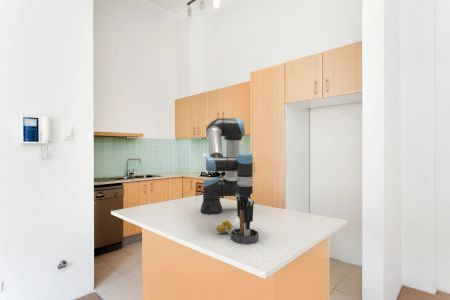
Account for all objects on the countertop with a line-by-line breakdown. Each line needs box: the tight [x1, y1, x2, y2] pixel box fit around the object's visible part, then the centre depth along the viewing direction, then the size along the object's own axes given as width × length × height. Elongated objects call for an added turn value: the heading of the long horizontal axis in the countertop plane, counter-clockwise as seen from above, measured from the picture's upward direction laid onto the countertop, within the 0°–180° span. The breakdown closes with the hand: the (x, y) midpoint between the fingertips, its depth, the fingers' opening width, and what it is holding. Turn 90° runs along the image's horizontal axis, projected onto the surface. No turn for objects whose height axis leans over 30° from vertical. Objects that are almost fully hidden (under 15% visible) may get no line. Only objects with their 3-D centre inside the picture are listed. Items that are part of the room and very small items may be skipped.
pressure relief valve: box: [216, 220, 237, 236], centre depth 124 cm, size 6×12×10 cm
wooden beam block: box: [239, 210, 247, 237], centre depth 117 cm, size 4×4×12 cm
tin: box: [230, 228, 260, 245], centre depth 117 cm, size 13×13×3 cm
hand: (244, 234), depth 117 cm, fingers closed on wooden beam block, 3 cm apart
